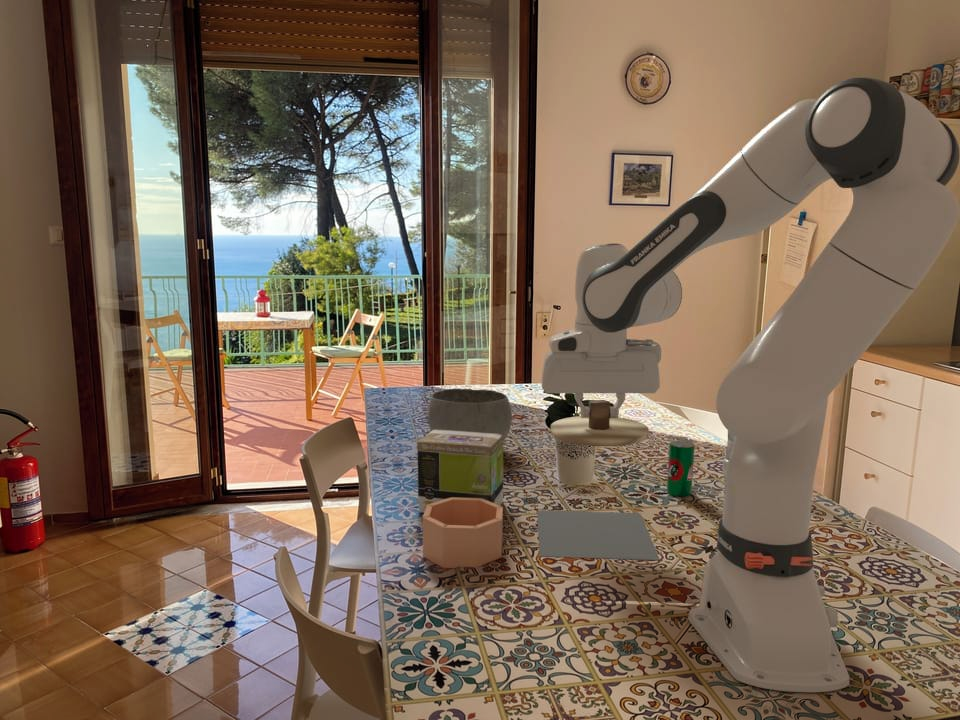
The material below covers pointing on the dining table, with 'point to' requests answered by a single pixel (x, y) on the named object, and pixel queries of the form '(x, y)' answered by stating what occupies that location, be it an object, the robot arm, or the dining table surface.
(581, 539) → the mat
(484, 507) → the pot
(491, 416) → the bowl
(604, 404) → the lid
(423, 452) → the tea box
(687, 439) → the soda can
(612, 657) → the dining table surface
